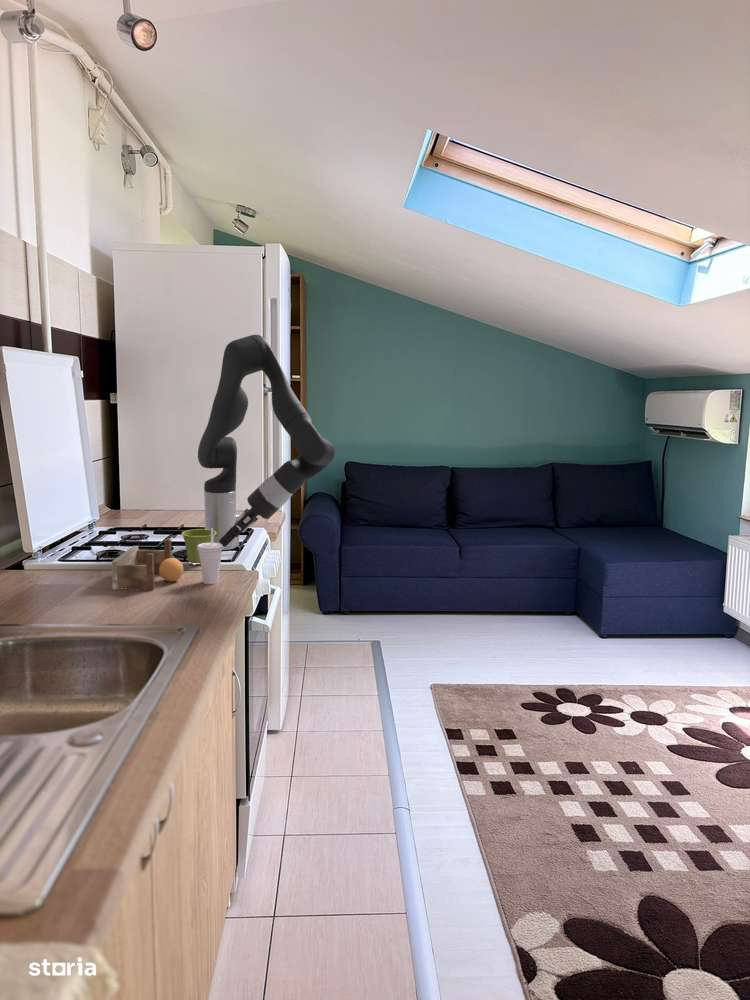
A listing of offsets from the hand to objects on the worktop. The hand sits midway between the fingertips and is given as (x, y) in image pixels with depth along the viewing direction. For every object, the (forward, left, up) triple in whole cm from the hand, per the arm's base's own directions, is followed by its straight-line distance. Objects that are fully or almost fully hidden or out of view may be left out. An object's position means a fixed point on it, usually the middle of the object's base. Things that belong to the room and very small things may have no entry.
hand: (225, 540), depth 204 cm
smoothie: (+3, -3, -11) cm, 12 cm away
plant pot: (-7, -21, -11) cm, 25 cm away
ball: (+9, -11, -8) cm, 16 cm away
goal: (+13, -16, -11) cm, 24 cm away
